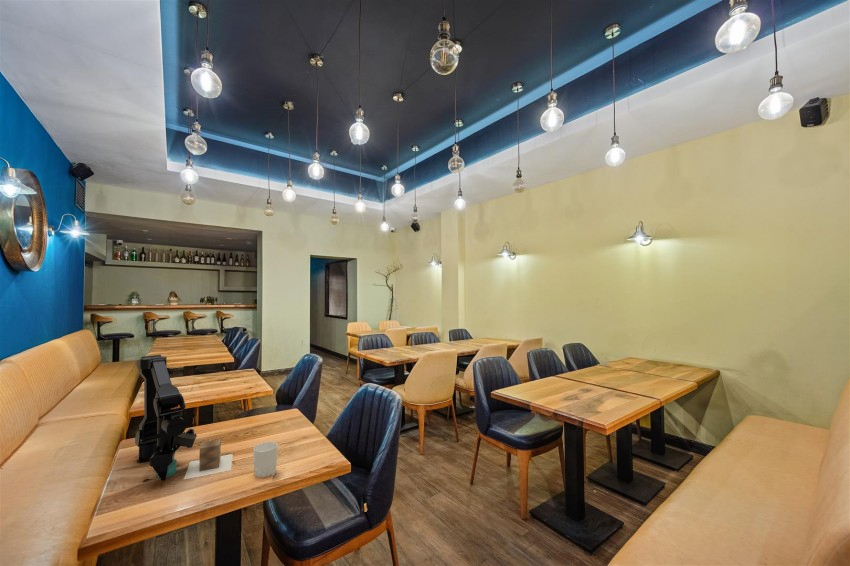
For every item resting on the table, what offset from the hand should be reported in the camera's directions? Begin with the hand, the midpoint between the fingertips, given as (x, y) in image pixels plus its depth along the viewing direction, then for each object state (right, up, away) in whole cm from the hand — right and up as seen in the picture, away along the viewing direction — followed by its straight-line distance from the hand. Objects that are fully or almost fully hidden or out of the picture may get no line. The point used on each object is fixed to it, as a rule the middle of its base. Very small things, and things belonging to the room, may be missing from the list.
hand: (166, 473), depth 121 cm
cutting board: (+12, -1, +6) cm, 13 cm away
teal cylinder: (0, -1, 0) cm, 1 cm away
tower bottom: (+12, 0, +6) cm, 13 cm away
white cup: (+34, -1, +1) cm, 34 cm away
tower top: (+12, +4, +6) cm, 14 cm away
